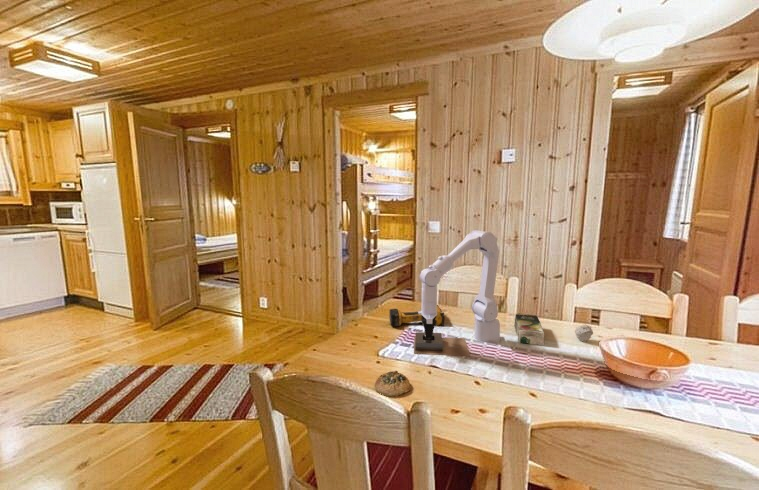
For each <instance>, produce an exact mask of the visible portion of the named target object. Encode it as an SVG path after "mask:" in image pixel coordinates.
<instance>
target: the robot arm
mask: <svg viewBox="0 0 759 490" xmlns="http://www.w3.org/2000/svg"><path fill="white" fill-rule="evenodd" d="M497 242H498V237H497V236H496V235H495V234H494V233H493V232H491V231H484V230H483V231H482V230H478V229H474V230H471V232H469V233H468V234H466V235H465V237H464V239H463V240H462V241H461V242H460V243H459V244H457V246H455V247H454V249H452V251H450V253H448V254H447V255H446V254H444V255H439V256H438V257H437V260H435V261H434V262H433V263H432V264H429V265H428V268H424V269H422V270H421V272H420V274H419V275H418V279H419V281H420V282H421V295H420V296H421V297H420V299H421V308H420V309H421V310H418V311H417V312H418V314H421V317H422V319H421V321H420V322H421V324H422V325H423V328H424V333H425V335H426V338H432V335H433V333H434V329H435V327H436V326H435V325H436V323H437V320H435V319H436V315H437V305H438V285H439V283H440V281H441V278H443V276H444V275H445V274H446V273H448V272H449V271H450V270H451V269H453V268H454V266H455V265H454V263H455V262H456V261H457V260H459V259H460V258H461V257H462V256H464V255H465V254H467V252H469V251H470V250H479V251H480V252H481V254H482V255H483V260H482V268H481V275H480V284H479V290H478V294H476V296H474V301H473V303H472V305H471V311H472V313H473V314H474V330H473V331H474V335H473V336H474V340H476V341H479V342H481V343H482V342H484V343H488V342H489V343H490V342H500V335H501V326H500V325H501V324H500V321H499V319H497V317H498V315H499V311H498V308H497V306H498V302H497V300H496V299H495V296H494V293H495V287H496V286H495V285H496V280H497V279H496V278H497V273H498V272H497V270H498V262H499V255H500V249H499V246H498V243H497Z"/></svg>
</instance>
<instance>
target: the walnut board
mask: <svg viewBox="0 0 759 490" xmlns="http://www.w3.org/2000/svg"><path fill="white" fill-rule="evenodd" d="M415 336H416V335H414V339H413V340H414V341H413V355H423V356H425V355H426V356H427V355H429V356H450V357H452V356H453V357H471V354H470V350H469V348H468V345H467V342H466V338H465V337H443V336H442V341H443V352H442V351H418V350H415Z"/></svg>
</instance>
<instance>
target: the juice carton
mask: <svg viewBox="0 0 759 490" xmlns="http://www.w3.org/2000/svg"><path fill="white" fill-rule="evenodd" d="M514 329H515V333H516V336H517V343H520V344H524V343H525V344H529V345H537V344H538V345H539V346H544V345H545V343H544V342H545V333H544V328H543V327H542V323H541V321H540V319H539V317H538V316H537V315H532V314H520V313H517V314H515V315H514Z"/></svg>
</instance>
